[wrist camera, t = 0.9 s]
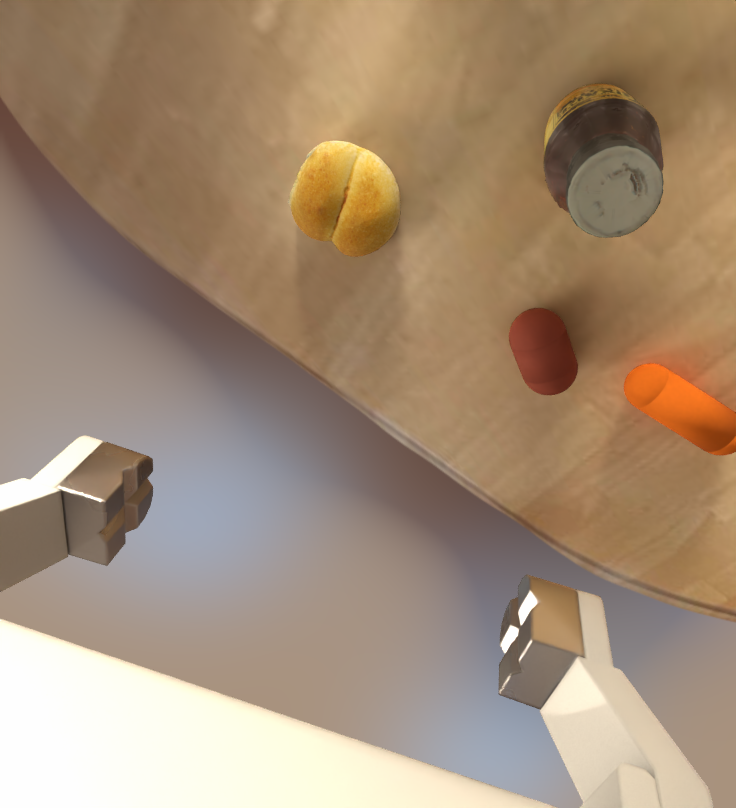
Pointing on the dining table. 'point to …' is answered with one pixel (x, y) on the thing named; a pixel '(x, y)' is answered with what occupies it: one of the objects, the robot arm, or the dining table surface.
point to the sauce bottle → (604, 160)
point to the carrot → (682, 408)
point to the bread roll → (346, 198)
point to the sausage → (543, 351)
